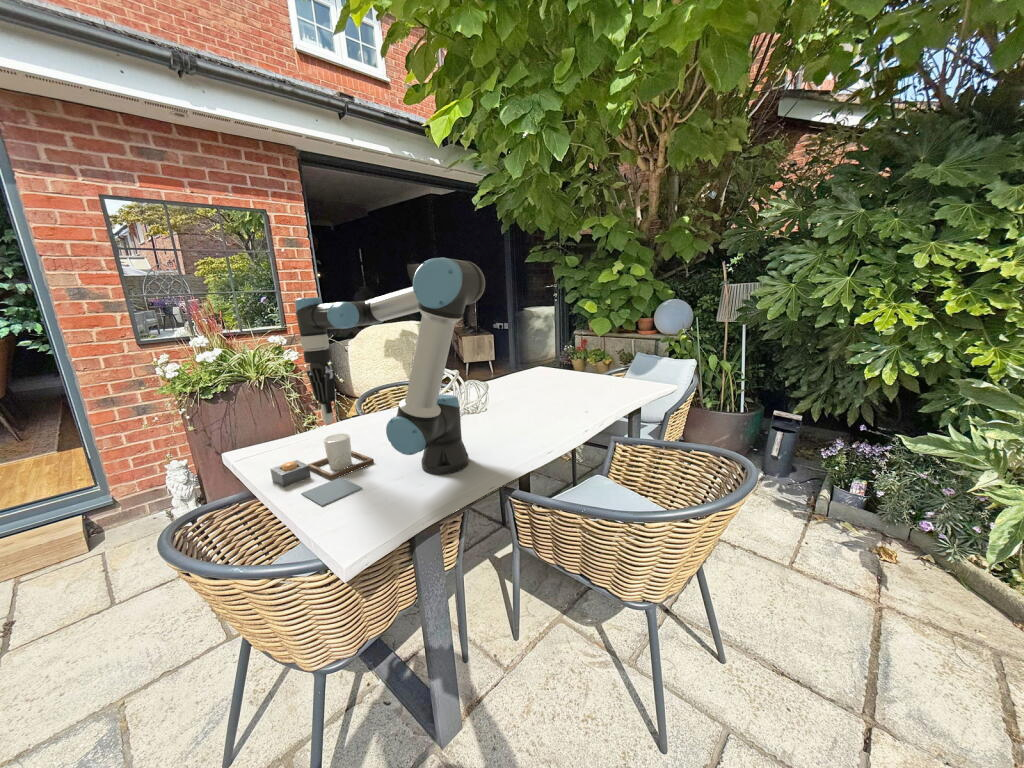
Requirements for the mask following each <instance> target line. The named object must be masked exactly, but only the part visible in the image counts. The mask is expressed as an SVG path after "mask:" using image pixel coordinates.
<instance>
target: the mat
mask: <svg viewBox="0 0 1024 768" xmlns="http://www.w3.org/2000/svg"><path fill="white" fill-rule="evenodd" d="M362 488H363V487H362V486H361V485H358V484H356V483H354V482H352V481H349V480H347V479H345V478H343V477H342V476H340V477H338V478H335V479H333V480H329V481H328V482H326V483H323V484H321V485H318V486H316V487H313V488H311V489H309V490H305V491H303V492H301V494H300V495H301V496H303V497H304V498H306V499H308V500H310V501H312V502H313V503H315V504H317V505H319V506H320V507H321V508H322V507H325V506H327V505H329V504H332V503H334V502H336V501H339V500H341V499H343V498H345V497H348V496H349V494H350V495H351V493H352V494H354V493H356V492H358V491H357V490H359V491H361V490H363V489H362ZM360 489H361V490H360ZM355 491H356V492H355ZM353 492H354V493H353ZM344 496H345V497H344ZM342 497H343V498H342ZM340 498H341V499H340ZM333 501H334V502H333ZM331 502H332V503H331Z"/></svg>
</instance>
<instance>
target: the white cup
mask: <svg viewBox="0 0 1024 768" xmlns="http://www.w3.org/2000/svg"><path fill="white" fill-rule="evenodd" d="M323 444H324V448H325V453H326V458H328V461H329V463H328V465H329V469H330V470H332V471H340V469H342V470H343V469H344V468H347V467H349V466H350V465H351V464H353V463H352V456H351V451H352V445H351V436H350V434H349V433H335V434H331V435H328V436H326V437H324V438H323ZM351 466H352V465H351Z"/></svg>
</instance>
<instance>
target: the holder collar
mask: <svg viewBox="0 0 1024 768" xmlns="http://www.w3.org/2000/svg"><path fill="white" fill-rule="evenodd" d="M352 456H353V458H355V457H356V458H355V459H357V458H359V459H358V460H360V459H361V460H360V461H361V462H359V463H357V464H356V463H355V464H353V465H351V466H350V467H348V468H345V469H342V470H337V471H335V472H333V473H331V472H329V471H326V470H325V469H322V468H320V466H323V465H325V463H326V464H329V463H328V462H329V461H328V458H327V457H324V458H322V459H319V460H316V461H314V462H311V463H308V464H307V465H309V469H310V472H313V473H315V474H316V475H319V476H321V477H323V478H324V479H327V480H329V481H333V480H335V479H338V478H340V477H343V476H345V475H348V474H350V473H352V472H351V471H353V472H355V471H357V470H356V469H358V470H360V469H362V468H361V467H363V468H365V467H367V466H366V465H368V466H370V465H373V464H374V463H375V462H374V460H375V459H374V458H372V457H369V456H367V455H365V454H361V453H359V452H357V451H354V450H351V457H352ZM362 460H363V461H362ZM372 463H373V464H372ZM322 464H323V465H322ZM369 464H370V465H369ZM317 466H318V467H317ZM364 466H365V467H364ZM359 468H360V469H359ZM354 470H355V471H354ZM349 472H350V473H349ZM347 473H348V474H347ZM344 474H345V475H344ZM342 475H343V476H342ZM339 476H340V477H339ZM337 477H338V478H337ZM332 479H333V480H332Z"/></svg>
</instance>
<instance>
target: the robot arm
mask: <svg viewBox="0 0 1024 768" xmlns="http://www.w3.org/2000/svg"><path fill="white" fill-rule="evenodd" d="M413 275H414V276H413V277H412V278H413V279H412V286H410V287H406V288H403V289H399V290H396V291H393V292H389V293H386V294H384V295H381V296H376V297H374V298H369V299H366V300H362V301H336V302H335V301H334V302H329V303H328V302H327V303H323V300H322V298H321V297H319V296H318V297H314V296H313V297H302V298H301V297H299V298H296V299H295V300H294V308H295V315H296V316H295V317H296V320H297V325H298V331H299V336H300V337H299V339H300V343H301V348H302V350H304V351H303V354H302V355H303V360H304V362H305V364H309V370H306V375H307V377H308V379H309V382H310V386H311V389H312V393H313V396H314V399H315V401H318V403H319V404H320V410H321V415H322V421H323V424H325V425H328V424H331V423H332V424H333V423H335V418H334V412H333V405H332V402H334V401H336V387H335V386H336V385H335V384H336V382H335V377H336V372H335V371H331V369H330V365H329V362H330V361H332V354H331V349H330V348H329V347H330V342H329V339H330V338H329V336H328V330H334V329H337V330H338V329H340V330H344V329H350V328H351V329H352V328H353V327H361V326H363V327H364V326H370V325H371V326H373V325H378V324H382V323H383V322H384V321H388V320H392V319H396V318H400V317H403V316H408V315H411V314H414V313H418V312H420V314H421V319H420V324H419V328H418V334H417V340H416V345H415V351H414V354H413V355H414V356H413V360H412V365H411V369H410V374H409V375H410V376H409V380H408V384H407V385H408V386H407V392H406V396H405V397H404V398H403V399H401V400H400V401H399V402H398V407H397V412H396V416H393V417H392V418H390V420H389V421H388V422H387V423H386V427H385V433H386V437H387V441H388V442H389V443H390V444H391V446H392V448H394V449H395V450H396V451H397V452H398V453H400V454H402V455H406V456H413V455H417V454H418V453H421V452H423V454H422V458H421V461H420V462H421V469H422V470H423V471H424V472H426V473H429V474H432V475H433V474H434V475H444V474H445V475H446V474H452V473H455V472H459V471H462V470H463V469H465V468H467V467H468V465H469V463H470V459H469V458H470V457H469V454H468V452H467V449H466V447H465V445H464V442H463V439H462V425H461V424H462V423H461V412H460V411H461V407H460V400H459V398H458V397H457V396H456V395H451V394H440V392H441V391H440V390H441V388H442V382H443V378H444V376H445V375H444V374H445V370H446V365H447V360H448V357H449V352H450V347H451V343H452V340H453V339H452V338H453V336H454V335H453V334H454V330H455V326H456V323H458V322H459V321H461V320H462V319H463V317H464V312H465V309H466V306H468V305H472V304H474V303H476V302H477V301H478V300H479V299H480V298H481V297H482V295H483V294H484V292H485V290H486V289H485V288H486V278H485V276H484V273H483V271H482V269H480V267H479V266H477V265H476V264H475V263H473V262H472V261H469V260H462V259H461V260H460V259H455V258H447V257H434V258H430V259H427V260H425V261H424V262H422V263H421V264H420V265H419V266H418V268H417V269H416V271H415V273H414V274H413Z"/></svg>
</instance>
